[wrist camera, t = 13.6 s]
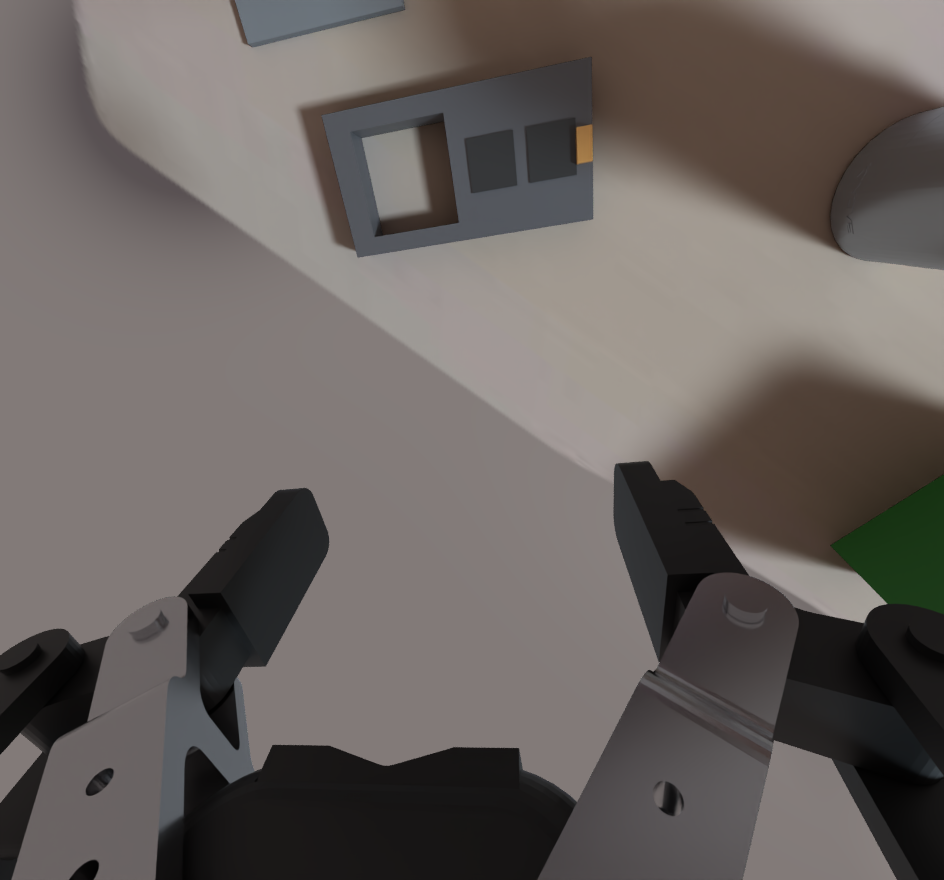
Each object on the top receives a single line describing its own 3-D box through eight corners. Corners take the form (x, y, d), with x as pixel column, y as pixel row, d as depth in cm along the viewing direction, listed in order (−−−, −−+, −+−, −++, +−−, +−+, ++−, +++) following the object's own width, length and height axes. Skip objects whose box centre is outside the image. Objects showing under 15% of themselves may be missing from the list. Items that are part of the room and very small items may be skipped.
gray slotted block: (585, 69, 28) (593, 53, 25) (587, 219, 32) (594, 219, 29) (335, 122, 30) (317, 113, 27) (367, 255, 34) (355, 258, 32)
